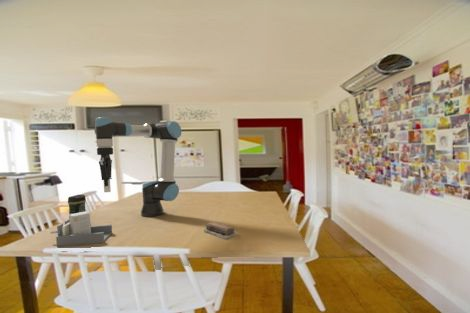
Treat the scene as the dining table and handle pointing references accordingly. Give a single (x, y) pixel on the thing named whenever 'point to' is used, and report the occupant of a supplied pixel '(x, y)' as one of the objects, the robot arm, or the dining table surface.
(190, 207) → the dining table surface
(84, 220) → the small box
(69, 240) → the grey slotted tray
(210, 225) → the packaged product
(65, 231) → the grey open holder
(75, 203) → the coffee jar
